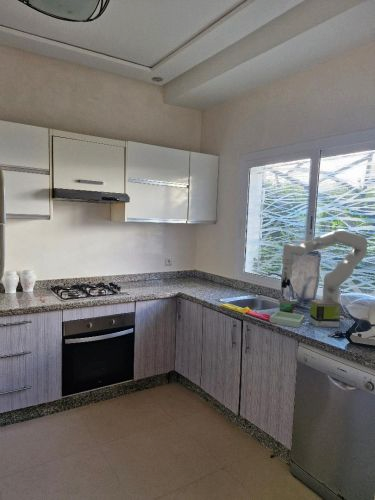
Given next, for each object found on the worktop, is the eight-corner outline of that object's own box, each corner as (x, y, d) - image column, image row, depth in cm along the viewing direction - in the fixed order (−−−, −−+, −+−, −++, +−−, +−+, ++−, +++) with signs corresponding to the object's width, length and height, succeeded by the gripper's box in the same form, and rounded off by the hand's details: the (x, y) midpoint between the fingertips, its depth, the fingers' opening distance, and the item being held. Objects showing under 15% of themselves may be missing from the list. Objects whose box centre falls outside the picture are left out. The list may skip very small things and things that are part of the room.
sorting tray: (304, 320, 226) (304, 315, 226) (298, 327, 210) (299, 322, 210) (276, 316, 235) (277, 310, 234) (269, 322, 219) (269, 316, 219)
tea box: (332, 322, 225) (334, 300, 224) (339, 327, 215) (341, 304, 214) (309, 321, 224) (310, 299, 223) (315, 326, 214) (317, 303, 213)
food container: (274, 312, 244) (275, 298, 243) (279, 311, 248) (280, 297, 247) (289, 316, 235) (290, 302, 234) (294, 315, 238) (295, 301, 238)
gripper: (290, 263, 229) (288, 289, 230) (296, 261, 244) (294, 285, 245) (279, 262, 232) (277, 287, 234) (285, 260, 247) (283, 284, 249)
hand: (285, 286), depth 240 cm, fingers open, 9 cm apart
